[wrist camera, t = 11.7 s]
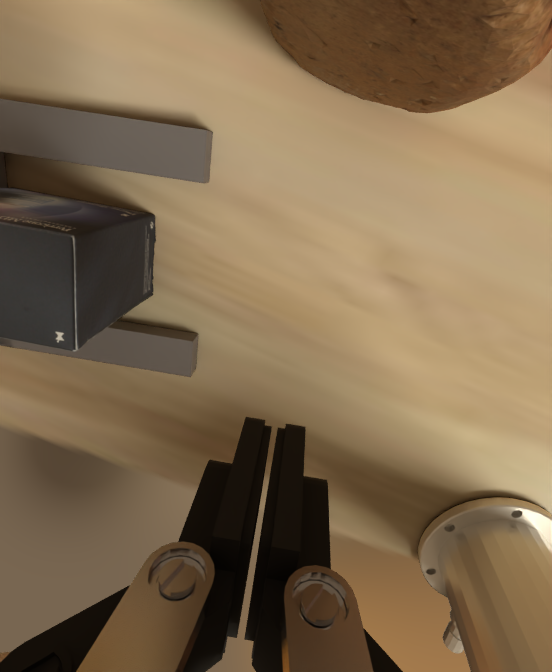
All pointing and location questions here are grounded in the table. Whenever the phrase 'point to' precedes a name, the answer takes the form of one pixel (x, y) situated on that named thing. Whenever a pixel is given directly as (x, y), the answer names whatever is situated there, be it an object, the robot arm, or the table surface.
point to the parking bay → (120, 154)
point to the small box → (69, 267)
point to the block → (414, 46)
